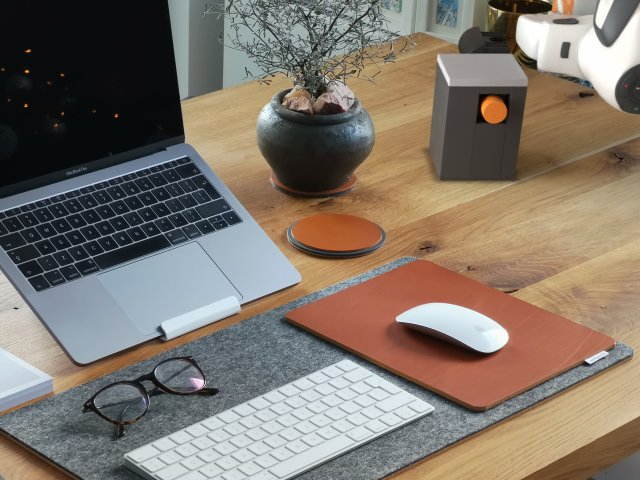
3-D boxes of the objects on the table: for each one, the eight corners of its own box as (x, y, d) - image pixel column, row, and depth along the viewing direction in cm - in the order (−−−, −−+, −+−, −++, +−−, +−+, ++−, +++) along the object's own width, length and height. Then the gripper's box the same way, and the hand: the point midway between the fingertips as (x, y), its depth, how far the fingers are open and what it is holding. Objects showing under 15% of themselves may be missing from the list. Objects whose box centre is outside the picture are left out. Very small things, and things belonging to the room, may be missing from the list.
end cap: (455, 65, 187) (459, 25, 184) (498, 66, 187) (503, 26, 183) (461, 85, 179) (466, 44, 175) (506, 86, 178) (511, 45, 175)
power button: (501, 116, 144) (504, 94, 143) (505, 123, 142) (508, 101, 141) (478, 116, 144) (481, 94, 143) (482, 123, 142) (484, 101, 141)
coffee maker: (499, 150, 156) (512, 53, 149) (514, 180, 148) (528, 79, 140) (428, 150, 156) (437, 53, 149) (439, 180, 148) (449, 79, 140)
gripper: (694, 23, 142) (659, -6, 154) (533, 23, 142) (511, -7, 154) (683, 71, 145) (650, 39, 157) (526, 71, 145) (505, 38, 157)
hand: (580, 16), depth 155 cm, fingers closed on small box, 6 cm apart
